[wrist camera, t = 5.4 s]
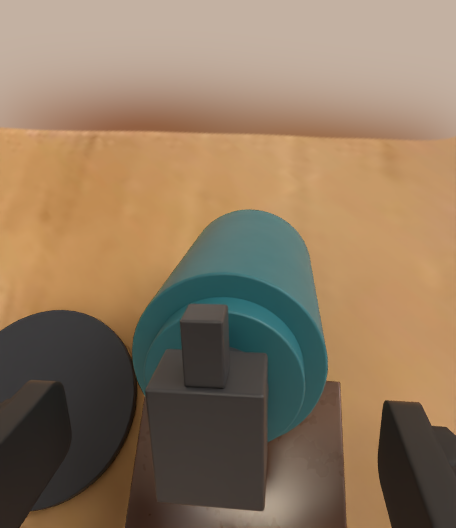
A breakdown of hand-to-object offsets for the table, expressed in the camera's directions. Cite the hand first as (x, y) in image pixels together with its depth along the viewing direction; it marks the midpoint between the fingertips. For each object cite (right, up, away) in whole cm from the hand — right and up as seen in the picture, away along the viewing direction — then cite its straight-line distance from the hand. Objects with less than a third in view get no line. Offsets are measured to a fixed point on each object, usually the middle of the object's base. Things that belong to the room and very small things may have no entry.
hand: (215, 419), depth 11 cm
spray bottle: (+1, -1, +11) cm, 11 cm away
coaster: (-9, -3, +11) cm, 15 cm away
